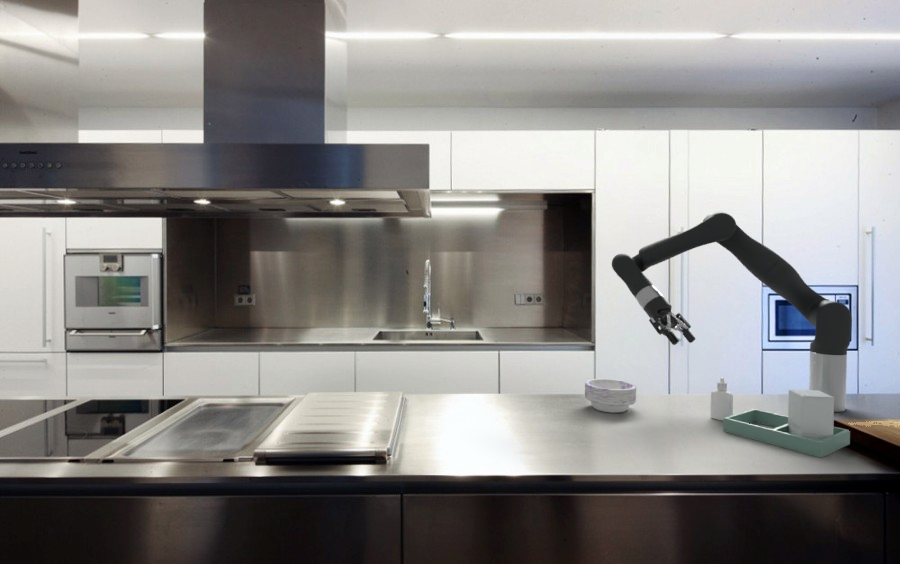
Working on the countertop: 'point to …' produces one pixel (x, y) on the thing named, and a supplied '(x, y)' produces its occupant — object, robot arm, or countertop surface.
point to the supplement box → (810, 414)
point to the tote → (782, 433)
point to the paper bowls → (610, 394)
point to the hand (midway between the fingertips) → (684, 342)
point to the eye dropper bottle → (721, 401)
